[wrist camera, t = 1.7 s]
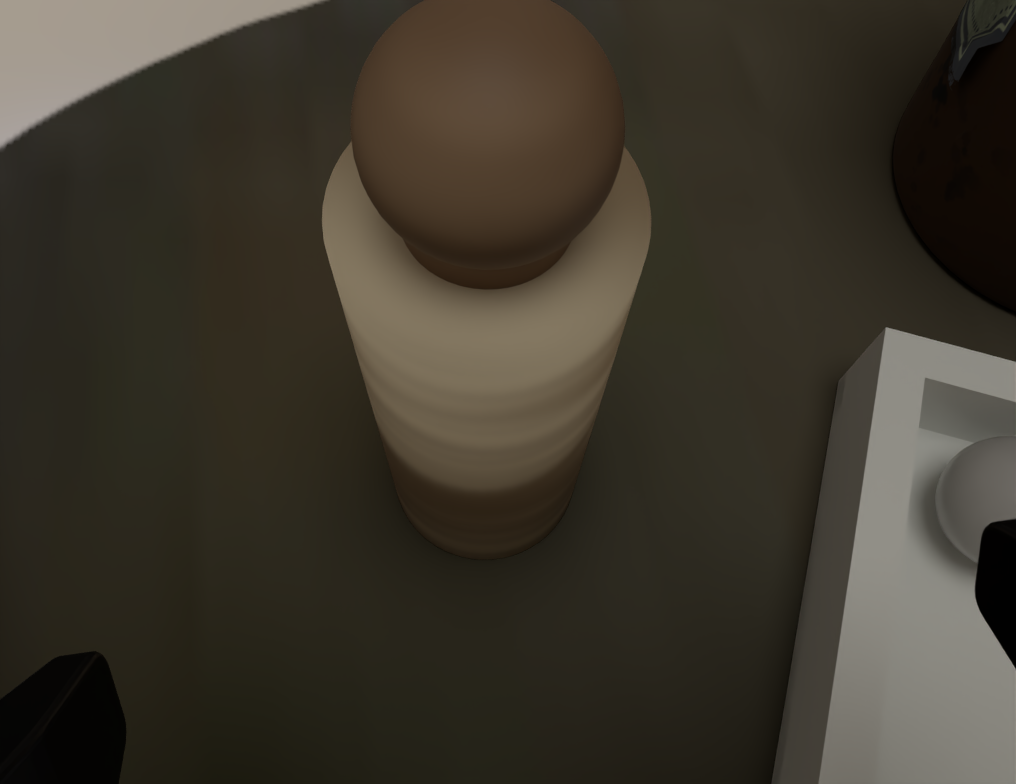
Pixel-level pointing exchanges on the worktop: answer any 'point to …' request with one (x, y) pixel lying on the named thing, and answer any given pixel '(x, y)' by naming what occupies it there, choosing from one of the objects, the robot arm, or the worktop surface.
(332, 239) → the pepper mill
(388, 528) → the worktop surface
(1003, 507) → the pebble
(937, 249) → the olive oil
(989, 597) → the robot arm
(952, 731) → the bin
